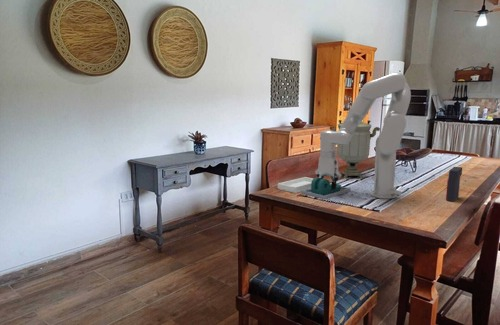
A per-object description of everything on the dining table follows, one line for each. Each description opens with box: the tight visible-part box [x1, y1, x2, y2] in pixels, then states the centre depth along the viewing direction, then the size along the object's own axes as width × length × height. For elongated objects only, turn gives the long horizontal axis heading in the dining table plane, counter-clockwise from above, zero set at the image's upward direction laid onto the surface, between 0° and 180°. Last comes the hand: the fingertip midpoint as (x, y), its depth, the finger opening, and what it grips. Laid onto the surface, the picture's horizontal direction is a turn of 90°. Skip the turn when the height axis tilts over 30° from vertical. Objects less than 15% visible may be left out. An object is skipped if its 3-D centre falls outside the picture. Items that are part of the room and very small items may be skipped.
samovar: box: [329, 111, 381, 179], centre depth 227 cm, size 30×26×40 cm
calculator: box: [445, 166, 463, 202], centre depth 174 cm, size 11×4×15 cm, turn 141°
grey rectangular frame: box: [301, 185, 352, 200], centre depth 190 cm, size 15×23×2 cm, turn 132°
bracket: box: [311, 176, 342, 196], centre depth 189 cm, size 18×7×8 cm, turn 129°
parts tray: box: [277, 176, 314, 194], centre depth 202 cm, size 13×24×3 cm, turn 132°
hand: (327, 187), depth 190 cm, fingers closed on bracket, 7 cm apart
